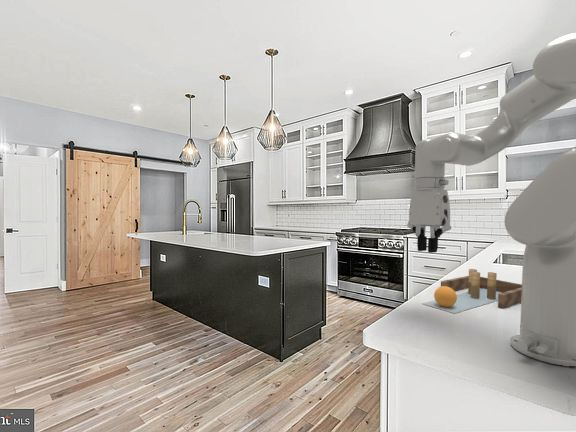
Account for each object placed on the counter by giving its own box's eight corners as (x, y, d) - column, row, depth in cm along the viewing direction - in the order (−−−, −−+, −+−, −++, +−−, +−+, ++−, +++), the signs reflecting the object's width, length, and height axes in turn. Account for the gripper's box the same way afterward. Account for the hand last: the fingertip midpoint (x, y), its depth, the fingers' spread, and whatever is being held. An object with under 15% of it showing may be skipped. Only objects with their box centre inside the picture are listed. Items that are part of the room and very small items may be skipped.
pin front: (477, 299, 100) (477, 273, 100) (469, 298, 102) (470, 272, 102) (480, 298, 101) (481, 272, 101) (473, 297, 103) (474, 271, 103)
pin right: (493, 300, 100) (494, 274, 100) (485, 298, 102) (486, 272, 102) (497, 299, 101) (498, 273, 101) (489, 297, 103) (490, 271, 103)
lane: (454, 313, 86) (454, 313, 86) (422, 304, 95) (422, 303, 95) (514, 295, 106) (514, 295, 106) (482, 288, 114) (482, 288, 114)
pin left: (473, 295, 105) (474, 270, 105) (466, 294, 107) (467, 269, 107) (477, 294, 106) (478, 269, 106) (470, 293, 108) (471, 268, 108)
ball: (449, 311, 89) (449, 290, 88) (429, 305, 94) (430, 285, 93) (460, 307, 92) (461, 287, 92) (441, 302, 97) (441, 283, 97)
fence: (503, 308, 92) (503, 295, 92) (440, 292, 108) (440, 281, 108) (532, 298, 103) (533, 286, 102) (471, 285, 119) (471, 275, 119)
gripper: (466, 184, 82) (463, 254, 82) (412, 187, 95) (410, 247, 96) (449, 182, 78) (447, 256, 78) (396, 186, 91) (394, 248, 92)
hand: (427, 250), depth 87 cm, fingers closed
